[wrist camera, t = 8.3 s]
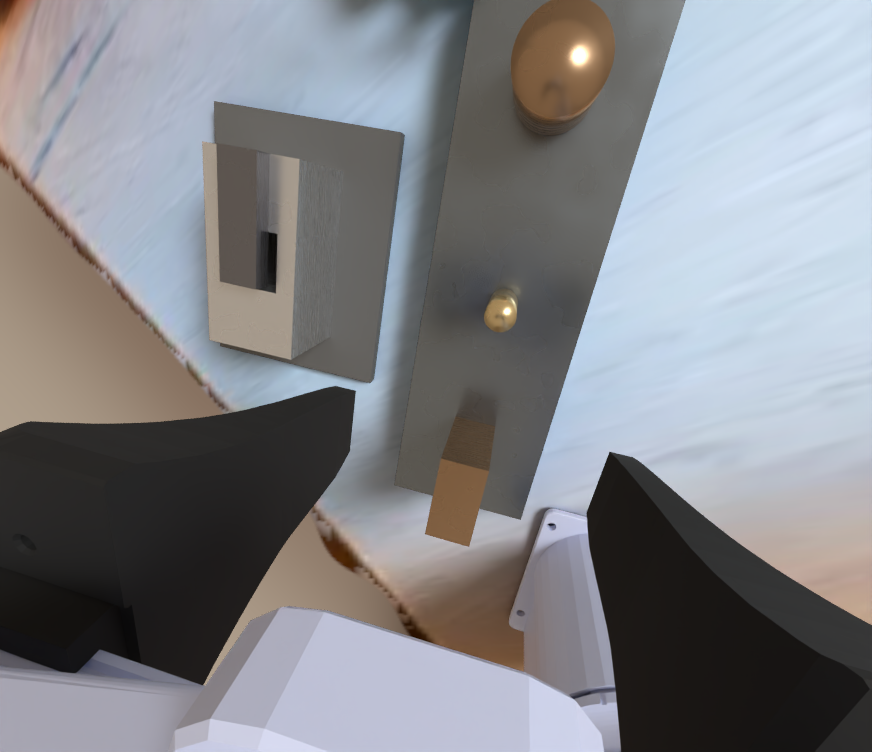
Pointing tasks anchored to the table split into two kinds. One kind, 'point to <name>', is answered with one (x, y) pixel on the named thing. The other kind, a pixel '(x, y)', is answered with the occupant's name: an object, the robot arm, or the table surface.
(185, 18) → the table surface
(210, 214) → the white slotted box
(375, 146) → the flat grey panel
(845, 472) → the table surface
